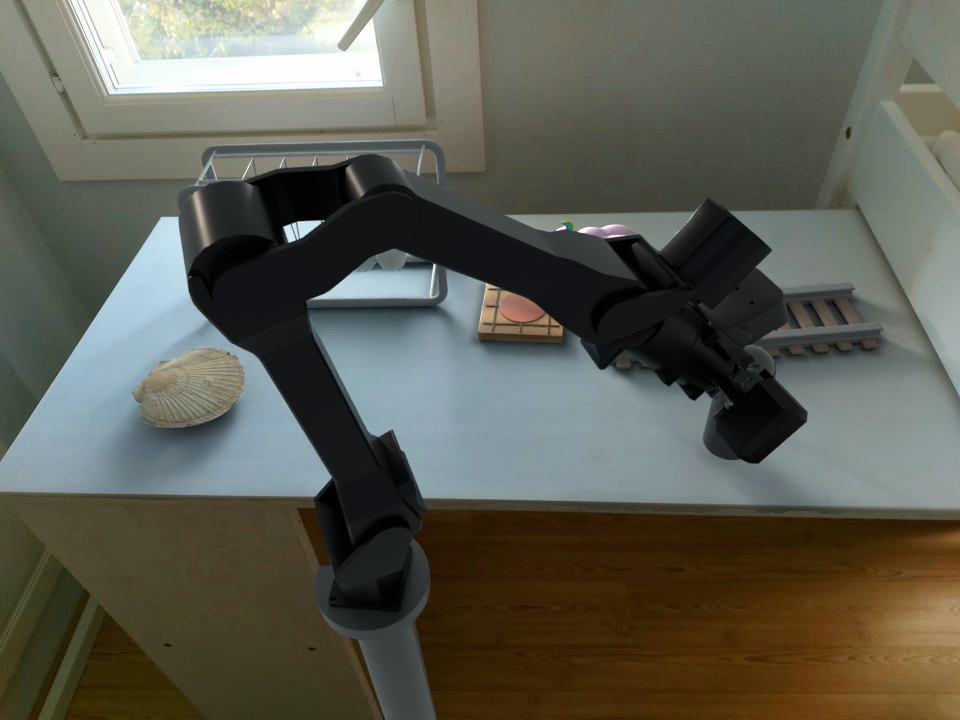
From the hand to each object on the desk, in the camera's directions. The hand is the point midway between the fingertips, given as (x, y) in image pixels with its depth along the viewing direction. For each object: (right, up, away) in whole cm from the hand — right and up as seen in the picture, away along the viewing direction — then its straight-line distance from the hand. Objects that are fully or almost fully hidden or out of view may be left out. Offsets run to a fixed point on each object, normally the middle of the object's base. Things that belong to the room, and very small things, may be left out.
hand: (753, 392), depth 71 cm
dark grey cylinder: (-1, -5, +4) cm, 7 cm away
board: (-20, +9, +22) cm, 31 cm away
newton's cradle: (-44, +13, +28) cm, 54 cm away
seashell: (-58, -2, +14) cm, 60 cm away
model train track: (+4, +7, +19) cm, 20 cm away
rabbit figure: (-12, +17, +30) cm, 37 cm away
